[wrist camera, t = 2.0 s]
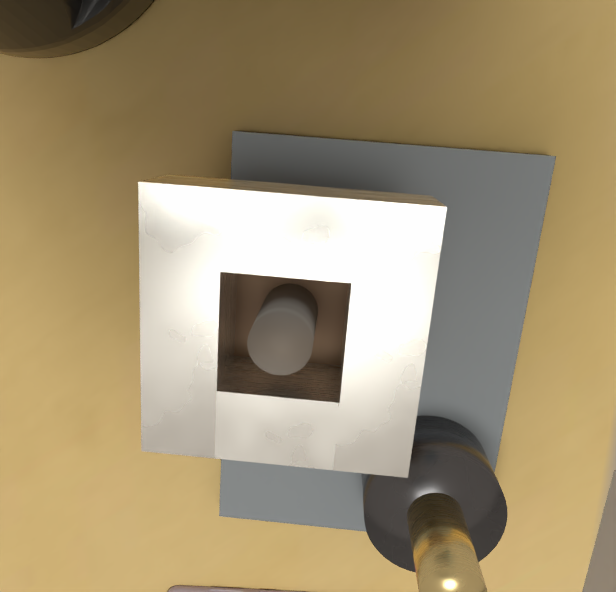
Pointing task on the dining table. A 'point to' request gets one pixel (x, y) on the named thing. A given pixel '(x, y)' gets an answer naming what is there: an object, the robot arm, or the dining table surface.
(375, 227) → the silver square ring
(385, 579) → the dining table surface
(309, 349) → the stand
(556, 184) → the dining table surface
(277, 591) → the smartphone
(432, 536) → the hub
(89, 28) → the robot arm
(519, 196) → the board
